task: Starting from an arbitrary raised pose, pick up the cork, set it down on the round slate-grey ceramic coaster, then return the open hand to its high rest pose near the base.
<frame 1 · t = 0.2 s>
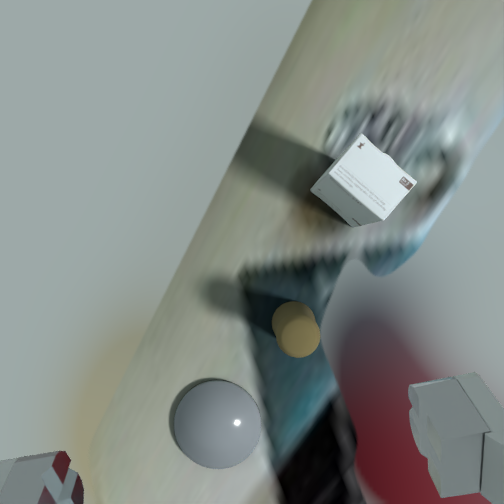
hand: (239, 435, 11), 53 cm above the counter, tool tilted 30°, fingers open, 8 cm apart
cork: (293, 322, 64), on the counter
skincare box: (346, 194, 64), on the counter
coaster: (217, 423, 65), on the counter
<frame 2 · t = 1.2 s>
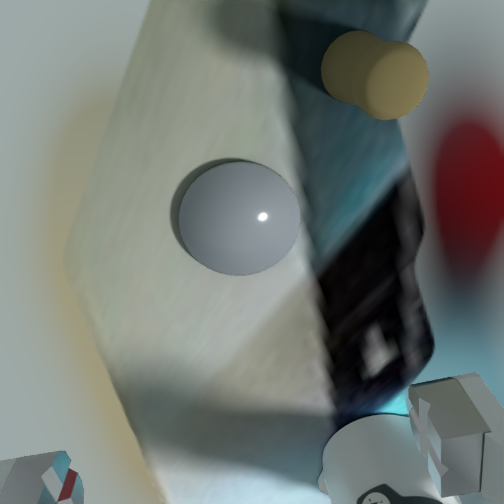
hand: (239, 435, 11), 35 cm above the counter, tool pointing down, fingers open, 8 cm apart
cork: (354, 68, 41), on the counter
coaster: (239, 219, 47), on the counter
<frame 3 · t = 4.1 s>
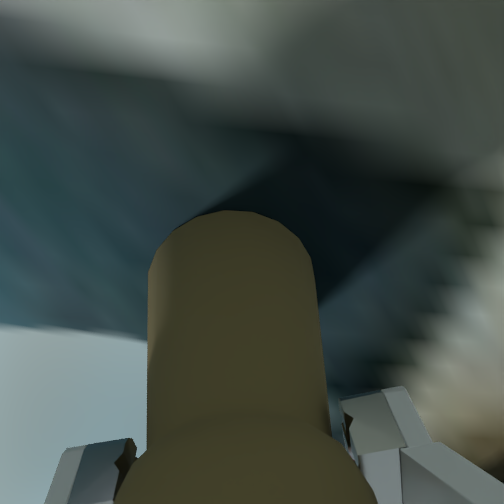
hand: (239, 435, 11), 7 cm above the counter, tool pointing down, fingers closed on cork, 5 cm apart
cork: (232, 284, 17), on the counter, touching gripper
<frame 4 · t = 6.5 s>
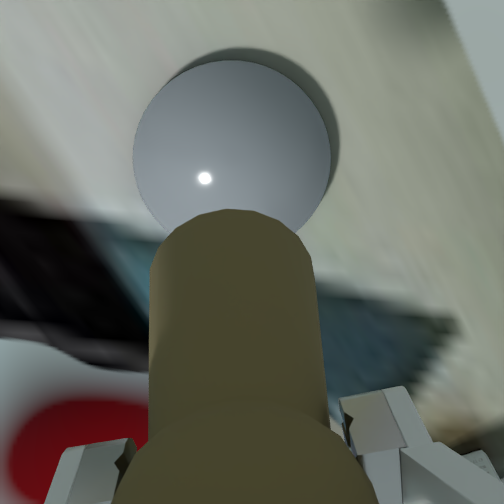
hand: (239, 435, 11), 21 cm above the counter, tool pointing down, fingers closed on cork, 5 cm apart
cork: (232, 282, 17), point 14 cm above the counter, touching gripper
skincare box: (441, 477, 44), on the counter
coaster: (232, 163, 29), on the counter
when the fingers open (9 cm above the counter, at t = 9.0 s): cork drops 1 cm, resting on coaster.
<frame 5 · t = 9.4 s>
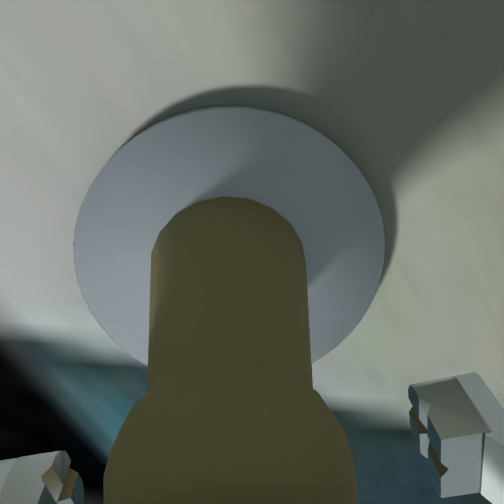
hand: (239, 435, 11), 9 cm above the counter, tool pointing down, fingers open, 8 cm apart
cork: (228, 267, 18), point 1 cm above the counter, touching coaster
coaster: (232, 258, 19), on the counter
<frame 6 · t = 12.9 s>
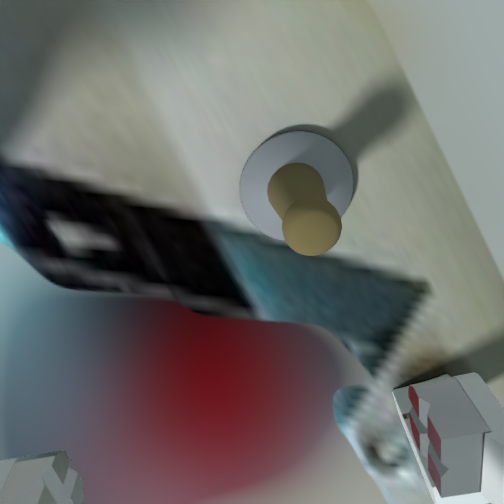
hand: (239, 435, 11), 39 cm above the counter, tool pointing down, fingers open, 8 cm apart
cork: (295, 189, 49), point 1 cm above the counter, touching coaster
skincare box: (421, 395, 65), on the counter
coaster: (295, 187, 50), on the counter
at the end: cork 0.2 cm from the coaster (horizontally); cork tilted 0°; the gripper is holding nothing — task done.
